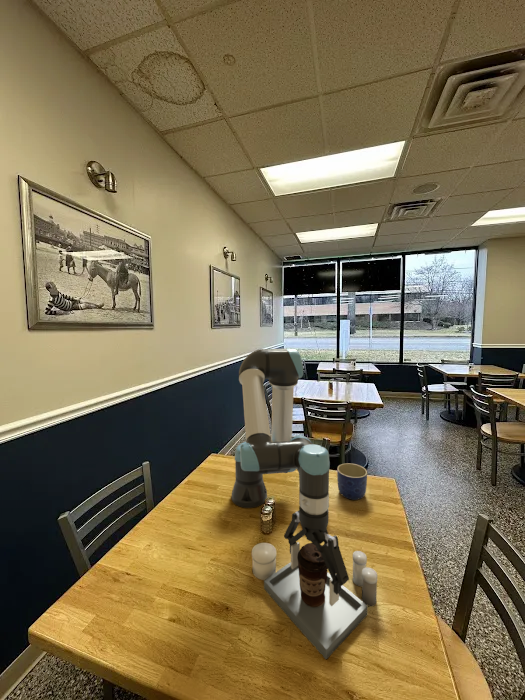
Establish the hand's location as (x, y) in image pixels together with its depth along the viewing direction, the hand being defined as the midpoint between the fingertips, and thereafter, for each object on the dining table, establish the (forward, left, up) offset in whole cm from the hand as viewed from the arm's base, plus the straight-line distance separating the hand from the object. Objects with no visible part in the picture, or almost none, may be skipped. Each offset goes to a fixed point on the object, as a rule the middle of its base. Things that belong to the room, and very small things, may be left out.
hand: (313, 582), depth 77 cm
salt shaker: (+4, +15, -5) cm, 16 cm away
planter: (-23, +50, -6) cm, 55 cm away
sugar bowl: (-16, -4, -5) cm, 17 cm away
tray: (0, 0, -5) cm, 5 cm away
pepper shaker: (+9, +12, -5) cm, 16 cm away
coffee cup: (0, 0, -4) cm, 4 cm away
